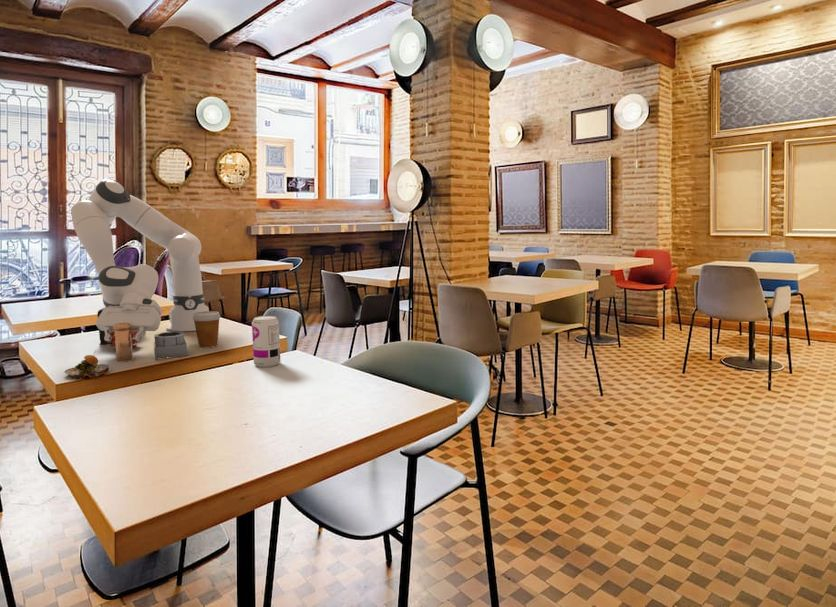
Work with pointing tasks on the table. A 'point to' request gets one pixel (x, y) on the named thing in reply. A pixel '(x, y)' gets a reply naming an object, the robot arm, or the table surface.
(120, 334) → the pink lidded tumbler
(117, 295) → the robot arm
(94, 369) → the burger
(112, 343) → the dragon fruit
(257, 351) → the supplement can
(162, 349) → the valve body
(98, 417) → the table surface
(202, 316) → the disposable coffee cup
